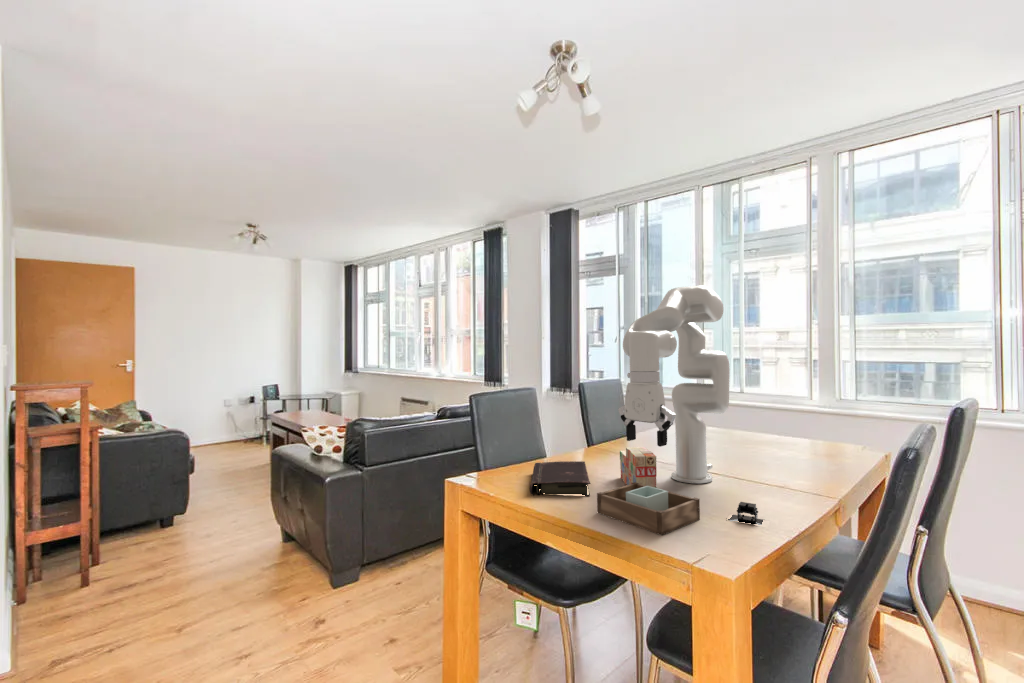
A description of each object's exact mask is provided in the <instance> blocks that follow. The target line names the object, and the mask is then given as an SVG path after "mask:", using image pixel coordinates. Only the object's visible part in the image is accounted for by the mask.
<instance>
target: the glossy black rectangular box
mask: <svg viewBox="0 0 1024 683" xmlns="http://www.w3.org/2000/svg"><path fill="white" fill-rule="evenodd" d="M736 512H737V513H736V514H733V515H732V517H731V518H730V519H728V520H730V521H729V522H732V521H739V522H745V523H751V524H758V525H762V522H763V520H764V519H762V518H758V516H759V515H758V513H759V510H758V507H757V504H756V503H751V502H744V501H740V502H739V503H738V506H737V509H736ZM743 513H744V514H743ZM745 514H747V515H745ZM749 514H750V515H751V516H750V515H749Z"/></svg>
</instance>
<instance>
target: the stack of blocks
mask: <svg viewBox="0 0 1024 683" xmlns="http://www.w3.org/2000/svg"><path fill="white" fill-rule="evenodd" d="M619 460H620V462H619V465H620V478H621V480H622V479H623V480H622V481H623V482H624V484H625V483H626V484H627V485H629V484H632V483H634V482H636V483H639V484H641V485H645V486H650V487H654V488H658V487H657V455H655V454H654V452H652V451H651V450H650V449H648V448H647V447H645V446H635V447H634V446H633V447H626V446H625V450H619ZM626 484H625V485H626Z"/></svg>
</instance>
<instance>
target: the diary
mask: <svg viewBox="0 0 1024 683" xmlns="http://www.w3.org/2000/svg"><path fill="white" fill-rule="evenodd" d="M534 485H537V487H535V488H536V493H537V494H538V493H539V489H541V491H540V493H541V494H542V493H545V494H582V495H585V496H586V497H590V496H591V494H590V492H589V495H590V496H589V495H587V486H588V487H589V485H592V484H591V481H590V479H589V474H588V470H587V465H586V461H576V460H575V461H574V460H573V461H571V460H569V461H568V460H567V461H561V460H560V461H546V462H535V463H534V466H533V471H532V475H531V480H530V485H529V493H530V495H531V494H533V489H534V490H535V488H534ZM586 485H587V486H586ZM533 495H534V494H533Z"/></svg>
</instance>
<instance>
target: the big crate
mask: <svg viewBox="0 0 1024 683" xmlns="http://www.w3.org/2000/svg"><path fill="white" fill-rule="evenodd" d="M644 486H645V485H641V484H639V483H636V482H634V483H632V484H629V485H626V484H625V485H623V486H619V487H616V488H613V489H612V488H611V489H609V490H605V491H602V492H601V491H600V492H597V493H596V502H597V503H596V505H597V506H596V508H597V512H598V513H597V512H596V513H597V514H599V513H601V514H600V515H602V514H604V515H603V516H605V515H606V517H608V516H609V517H608V518H611V517H612V518H611V519H614V520H617V521H619V520H620V522H622V521H623V522H622V523H625V522H626V524H629V525H632V526H634V527H637V528H640V529H643V530H646V531H649V532H651V533H655V534H657V535H660V536H663V535H666V534H669V533H672V532H673V531H676V530H678V529H681V528H683V527H685V526H687V525H690V524H692V523H695V522H697V521H700V519H701V517H700V516H701V513H700V510H701V509H700V508H701V507H700V498H697V497H691V496H688V495H683V494H681V493H680V494H678V493H676V492H671V491H668V509H667V510H664V511H662V510H659V511H657V510H653V509H650V508H647V507H643V506H640V505H637V504H634V503H630V502H627V501H626V492H628V491H631V490H635V489H638V488H641V487H644Z"/></svg>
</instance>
